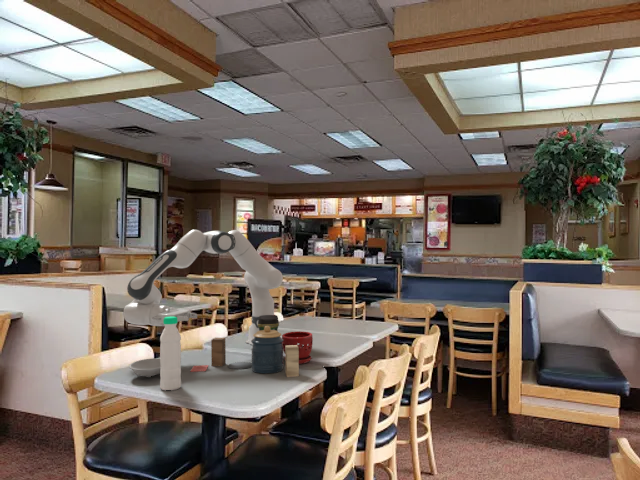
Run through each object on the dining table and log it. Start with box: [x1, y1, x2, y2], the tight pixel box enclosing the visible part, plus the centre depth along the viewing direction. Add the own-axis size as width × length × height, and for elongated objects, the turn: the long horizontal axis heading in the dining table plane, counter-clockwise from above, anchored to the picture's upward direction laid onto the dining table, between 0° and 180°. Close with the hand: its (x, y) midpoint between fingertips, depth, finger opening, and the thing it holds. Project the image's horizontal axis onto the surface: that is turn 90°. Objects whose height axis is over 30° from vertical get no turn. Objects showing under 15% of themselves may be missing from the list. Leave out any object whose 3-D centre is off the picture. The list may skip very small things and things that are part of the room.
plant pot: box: [281, 331, 314, 365], centre depth 206 cm, size 13×13×12 cm
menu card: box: [190, 364, 209, 373], centre depth 195 cm, size 9×6×1 cm, turn 6°
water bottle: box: [159, 316, 182, 391], centre depth 169 cm, size 7×7×25 cm
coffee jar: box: [258, 314, 280, 332], centre depth 217 cm, size 10×8×19 cm
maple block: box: [284, 344, 300, 378], centre depth 185 cm, size 4×4×11 cm
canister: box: [250, 326, 285, 374], centre depth 193 cm, size 13×13×18 cm
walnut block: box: [210, 337, 227, 367], centre depth 202 cm, size 4×4×11 cm
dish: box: [128, 358, 161, 378], centre depth 184 cm, size 18×14×5 cm
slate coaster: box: [228, 361, 252, 370], centre depth 199 cm, size 10×10×1 cm
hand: (192, 317), depth 203 cm, fingers open, 8 cm apart
